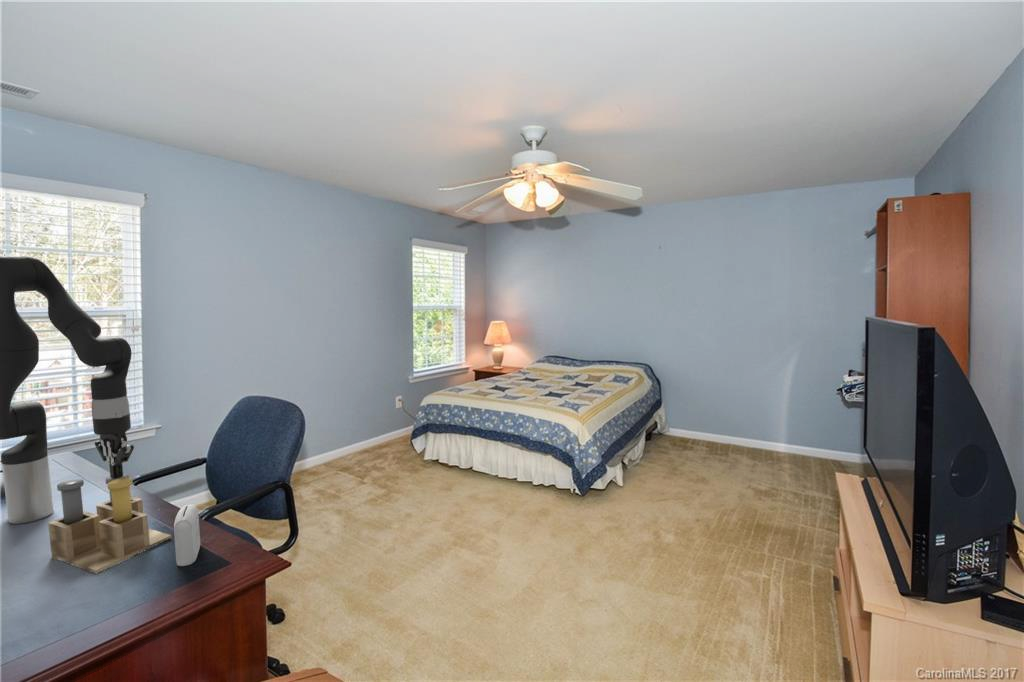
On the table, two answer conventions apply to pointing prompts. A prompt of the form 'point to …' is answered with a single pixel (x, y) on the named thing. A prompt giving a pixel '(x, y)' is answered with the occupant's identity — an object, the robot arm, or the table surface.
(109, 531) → the board
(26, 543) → the table surface
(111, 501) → the grey plug
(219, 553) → the table surface
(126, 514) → the ochre plug
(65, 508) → the grey plug
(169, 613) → the table surface
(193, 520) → the photo printer
